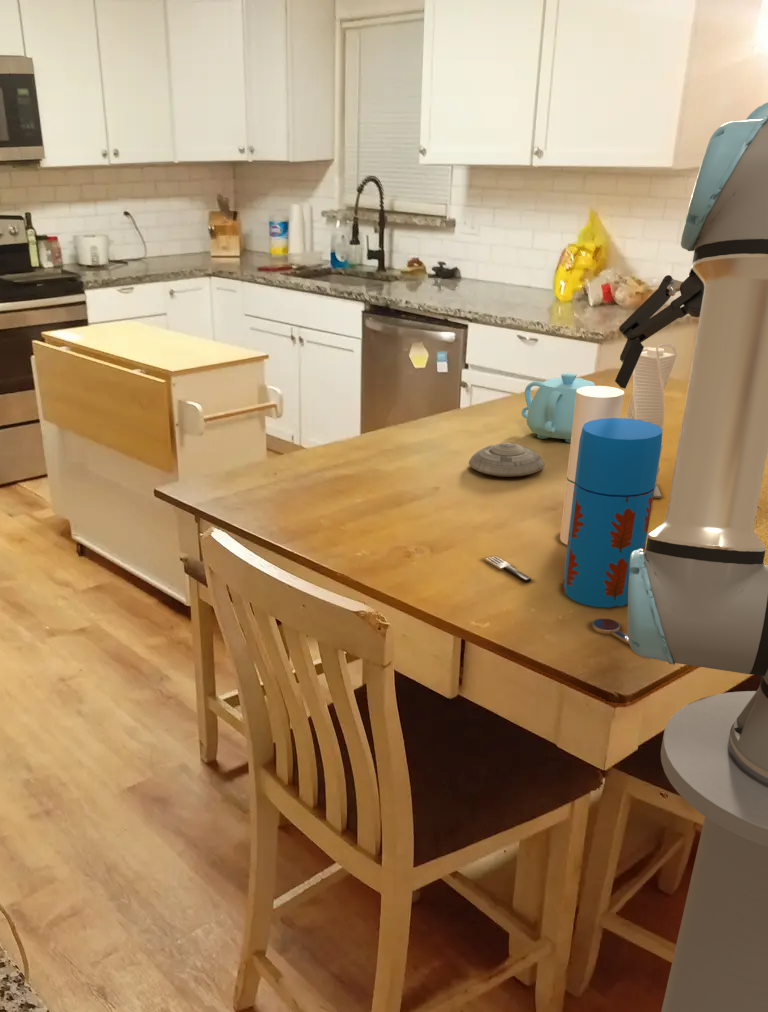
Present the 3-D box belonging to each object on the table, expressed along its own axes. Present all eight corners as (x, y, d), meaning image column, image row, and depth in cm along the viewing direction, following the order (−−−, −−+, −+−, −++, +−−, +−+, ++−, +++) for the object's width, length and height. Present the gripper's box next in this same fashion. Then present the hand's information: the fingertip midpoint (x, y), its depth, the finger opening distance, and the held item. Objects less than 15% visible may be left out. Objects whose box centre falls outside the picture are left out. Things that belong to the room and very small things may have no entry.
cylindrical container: (596, 551, 156) (617, 399, 144) (554, 543, 159) (570, 394, 147) (609, 536, 161) (629, 388, 149) (567, 529, 164) (584, 384, 152)
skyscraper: (662, 500, 175) (687, 344, 161) (616, 499, 176) (637, 344, 163) (656, 485, 182) (679, 335, 168) (611, 484, 183) (631, 334, 170)
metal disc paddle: (658, 650, 126) (659, 646, 126) (638, 656, 125) (638, 652, 125) (606, 620, 135) (607, 616, 134) (586, 625, 133) (587, 621, 133)
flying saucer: (524, 487, 183) (526, 459, 181) (455, 474, 192) (456, 447, 189) (555, 465, 194) (558, 439, 191) (489, 454, 202) (490, 429, 199)
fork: (534, 580, 147) (534, 577, 146) (522, 583, 146) (522, 580, 146) (495, 557, 155) (495, 555, 154) (484, 560, 154) (484, 557, 154)
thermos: (645, 585, 144) (672, 423, 132) (626, 614, 136) (652, 444, 124) (574, 571, 149) (594, 414, 137) (552, 598, 141) (570, 433, 129)
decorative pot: (536, 448, 205) (542, 384, 198) (516, 426, 219) (521, 367, 212) (610, 444, 205) (619, 381, 199) (586, 423, 219) (593, 363, 213)
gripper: (824, 276, 129) (755, 423, 131) (653, 254, 144) (594, 386, 147) (815, 250, 123) (743, 404, 126) (637, 229, 138) (577, 367, 141)
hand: (663, 395), depth 136 cm, fingers open, 13 cm apart
